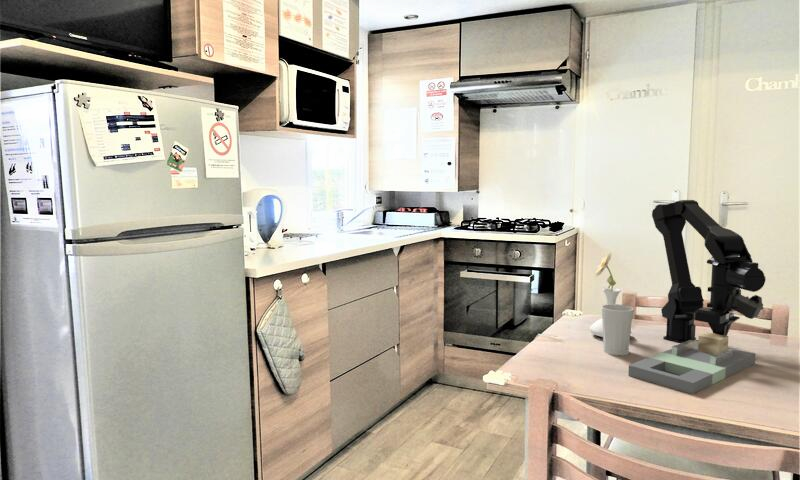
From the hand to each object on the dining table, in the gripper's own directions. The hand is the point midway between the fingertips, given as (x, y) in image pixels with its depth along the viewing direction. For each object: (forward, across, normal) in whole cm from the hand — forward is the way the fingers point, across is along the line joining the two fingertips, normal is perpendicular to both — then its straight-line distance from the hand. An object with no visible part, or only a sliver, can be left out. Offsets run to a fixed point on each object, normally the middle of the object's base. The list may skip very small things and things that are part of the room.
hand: (720, 344), depth 150 cm
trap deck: (+4, -14, 0) cm, 14 cm away
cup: (+4, -16, +20) cm, 26 cm away
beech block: (+1, -4, 0) cm, 4 cm away
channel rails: (+1, -10, 0) cm, 10 cm away
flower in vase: (+4, -5, +29) cm, 29 cm away
